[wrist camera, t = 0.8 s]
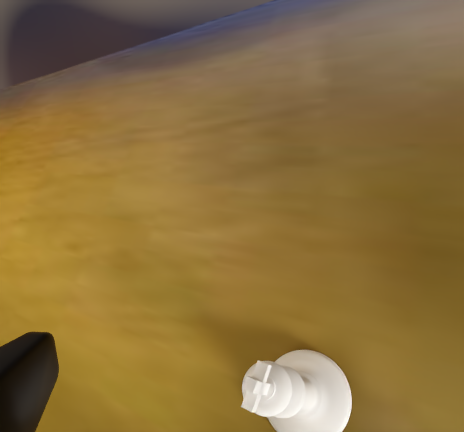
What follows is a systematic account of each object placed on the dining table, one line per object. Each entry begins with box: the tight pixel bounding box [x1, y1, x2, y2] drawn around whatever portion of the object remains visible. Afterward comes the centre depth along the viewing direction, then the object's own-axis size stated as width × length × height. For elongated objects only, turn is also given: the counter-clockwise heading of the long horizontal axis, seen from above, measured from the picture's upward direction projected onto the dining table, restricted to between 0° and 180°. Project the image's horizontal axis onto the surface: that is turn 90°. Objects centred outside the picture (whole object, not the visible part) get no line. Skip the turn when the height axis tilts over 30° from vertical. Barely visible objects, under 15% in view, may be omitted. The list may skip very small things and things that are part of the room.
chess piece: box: [241, 350, 352, 432], centre depth 18 cm, size 5×5×10 cm
